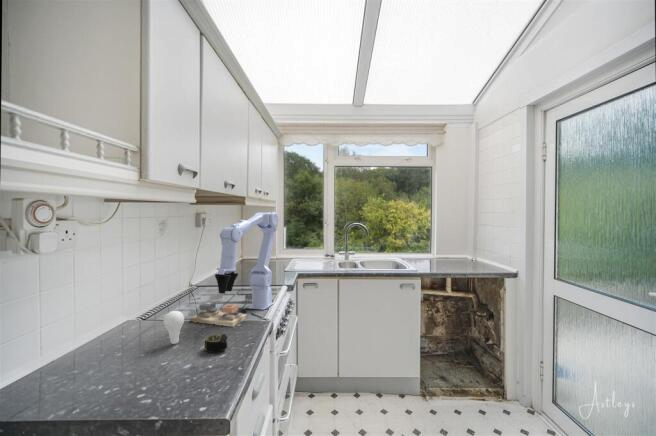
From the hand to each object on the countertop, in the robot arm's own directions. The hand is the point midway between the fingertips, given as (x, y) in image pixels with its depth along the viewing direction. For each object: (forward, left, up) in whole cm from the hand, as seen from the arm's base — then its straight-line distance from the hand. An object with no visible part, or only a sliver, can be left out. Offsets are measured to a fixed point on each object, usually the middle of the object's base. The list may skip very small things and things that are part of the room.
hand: (225, 292), depth 117 cm
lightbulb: (+20, -6, -13) cm, 24 cm away
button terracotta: (-3, 0, -8) cm, 9 cm away
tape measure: (+19, +11, -13) cm, 25 cm away
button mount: (-3, -6, -12) cm, 14 cm away
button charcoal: (-3, -11, -8) cm, 14 cm away
